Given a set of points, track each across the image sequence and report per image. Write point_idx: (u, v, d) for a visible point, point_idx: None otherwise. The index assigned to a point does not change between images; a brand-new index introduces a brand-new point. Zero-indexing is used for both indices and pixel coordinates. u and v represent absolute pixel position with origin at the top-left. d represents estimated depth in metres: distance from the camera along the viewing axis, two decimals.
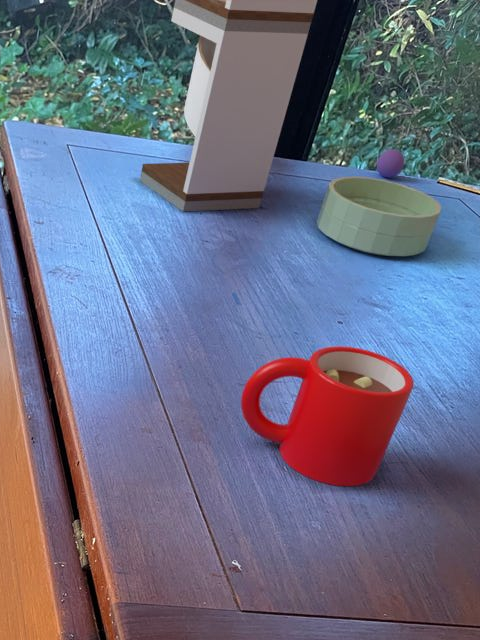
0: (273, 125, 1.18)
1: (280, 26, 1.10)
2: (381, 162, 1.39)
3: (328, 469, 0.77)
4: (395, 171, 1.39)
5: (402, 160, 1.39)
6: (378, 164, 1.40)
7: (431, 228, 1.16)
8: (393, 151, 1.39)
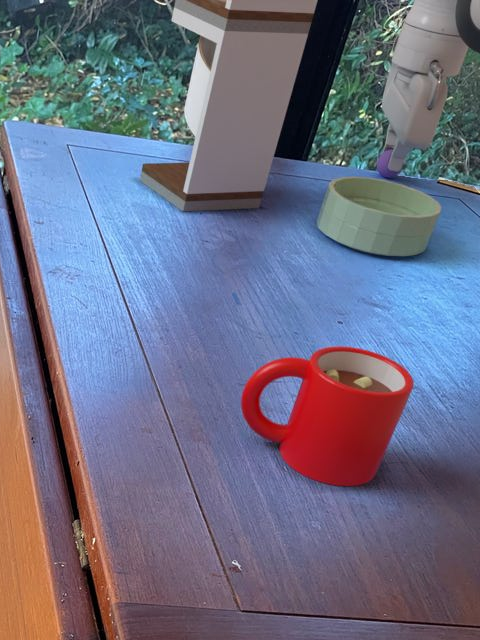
0: (273, 125, 1.18)
1: (280, 26, 1.10)
2: (381, 162, 1.39)
3: (328, 469, 0.77)
4: (395, 171, 1.39)
5: None
6: (378, 164, 1.40)
7: (431, 228, 1.16)
8: None
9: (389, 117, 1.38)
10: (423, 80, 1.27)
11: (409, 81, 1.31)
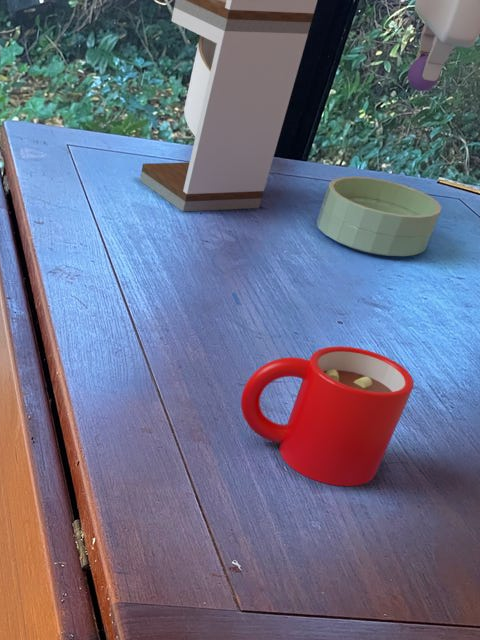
0: (273, 125, 1.18)
1: (280, 26, 1.10)
2: (414, 71, 1.16)
3: (328, 469, 0.77)
4: (430, 82, 1.16)
5: None
6: (410, 74, 1.17)
7: (431, 228, 1.16)
8: None
9: (424, 16, 1.15)
10: None
11: None
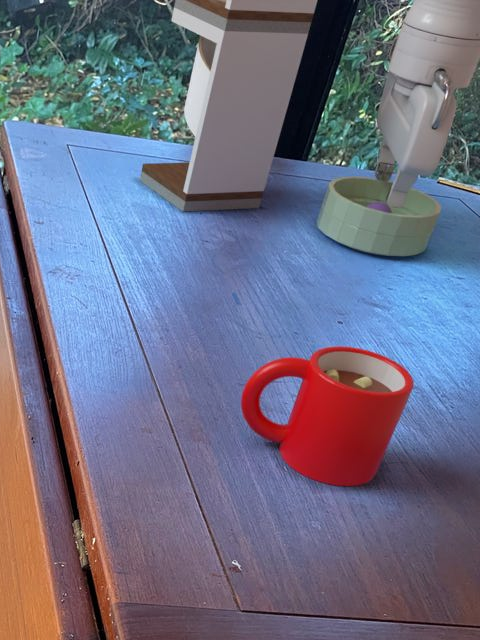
0: (273, 125, 1.18)
1: (280, 26, 1.10)
2: None
3: (328, 469, 0.77)
4: None
5: None
6: None
7: (431, 228, 1.16)
8: (379, 203, 1.19)
9: (386, 136, 1.16)
10: (426, 93, 1.04)
11: (409, 94, 1.08)
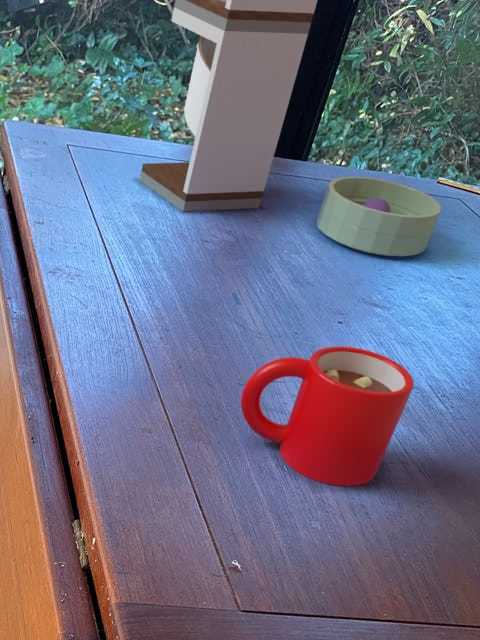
0: (273, 125, 1.18)
1: (280, 26, 1.10)
2: (366, 205, 1.20)
3: (328, 469, 0.77)
4: (385, 210, 1.19)
5: (388, 205, 1.20)
6: None
7: (431, 228, 1.16)
8: None
9: None
10: None
11: None
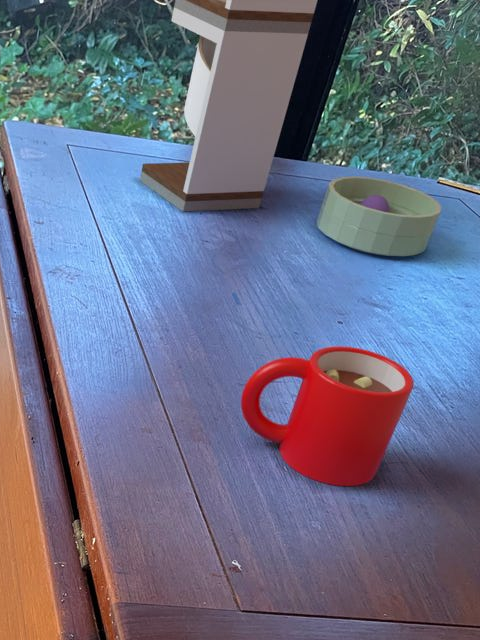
0: (273, 125, 1.18)
1: (280, 26, 1.10)
2: (364, 199, 1.21)
3: (328, 469, 0.77)
4: (384, 199, 1.20)
5: None
6: (362, 203, 1.21)
7: (431, 228, 1.16)
8: None
9: None
10: None
11: None
